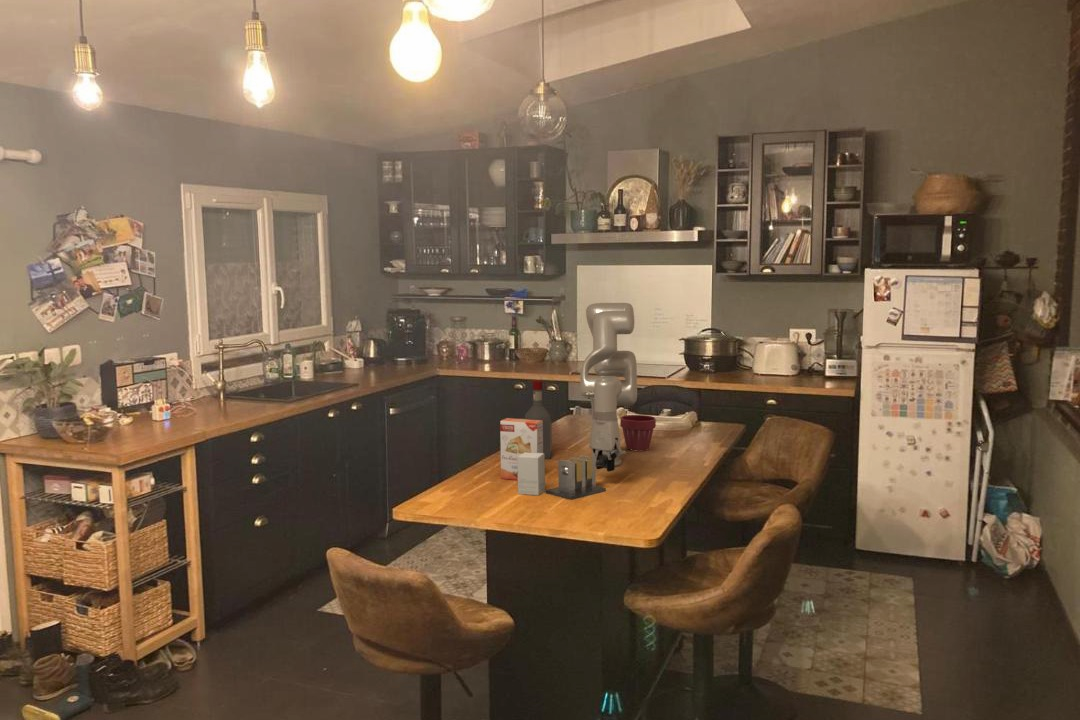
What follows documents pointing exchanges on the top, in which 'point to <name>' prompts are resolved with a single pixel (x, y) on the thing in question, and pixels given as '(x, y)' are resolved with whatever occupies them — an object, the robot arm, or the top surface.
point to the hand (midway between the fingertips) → (605, 469)
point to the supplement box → (531, 473)
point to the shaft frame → (567, 481)
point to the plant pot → (637, 431)
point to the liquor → (541, 418)
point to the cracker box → (518, 443)
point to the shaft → (601, 462)
